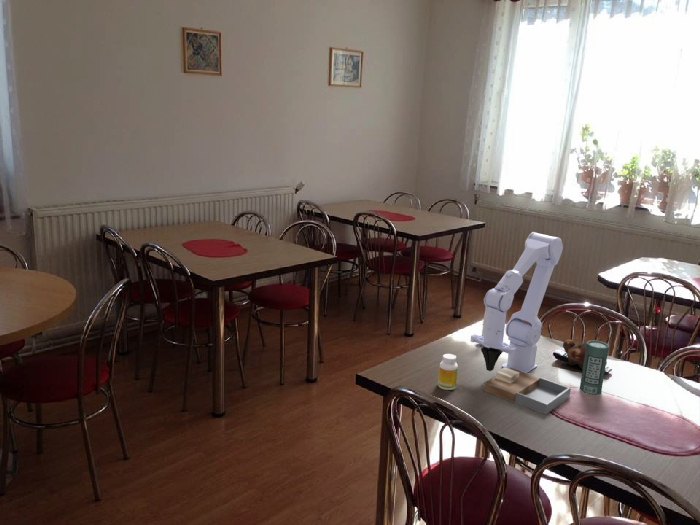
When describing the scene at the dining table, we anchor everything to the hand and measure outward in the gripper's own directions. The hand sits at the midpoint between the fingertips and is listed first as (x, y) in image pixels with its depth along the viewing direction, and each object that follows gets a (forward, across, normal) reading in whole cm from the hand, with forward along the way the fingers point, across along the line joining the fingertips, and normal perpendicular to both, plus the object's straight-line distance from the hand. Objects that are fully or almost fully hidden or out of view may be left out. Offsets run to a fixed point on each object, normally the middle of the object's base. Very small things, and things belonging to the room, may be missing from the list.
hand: (489, 369), depth 191 cm
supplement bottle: (+3, -6, -14) cm, 16 cm away
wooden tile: (+1, +6, 0) cm, 6 cm away
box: (+3, +18, 0) cm, 18 cm away
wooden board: (+3, +8, 0) cm, 9 cm away
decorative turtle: (+3, +16, +32) cm, 36 cm away
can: (+3, +25, +17) cm, 30 cm away
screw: (+3, -16, +23) cm, 28 cm away
